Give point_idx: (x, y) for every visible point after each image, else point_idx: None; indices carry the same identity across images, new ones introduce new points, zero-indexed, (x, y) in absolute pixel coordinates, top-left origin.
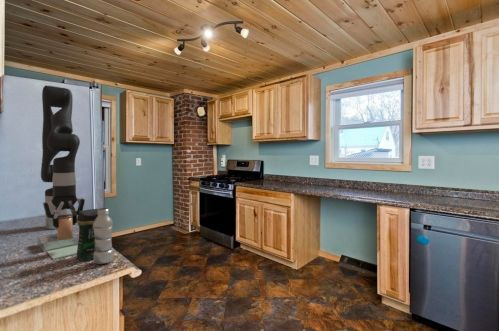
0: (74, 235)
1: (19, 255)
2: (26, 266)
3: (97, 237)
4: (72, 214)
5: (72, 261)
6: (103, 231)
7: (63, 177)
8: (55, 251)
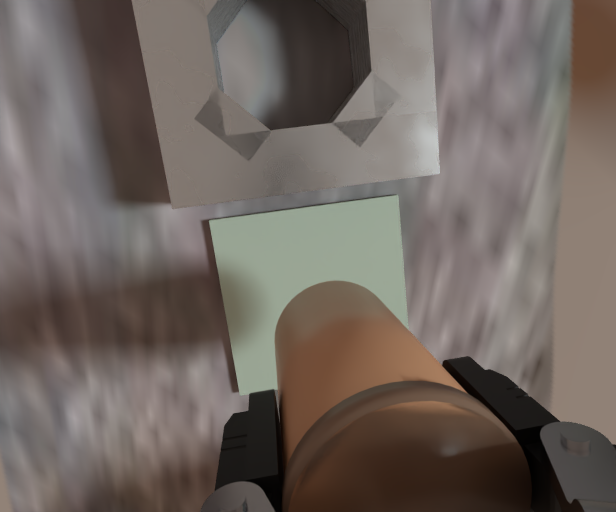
0: (425, 96)
1: (31, 167)
2: (103, 423)
3: None
4: (536, 461)
5: None
6: None
7: None
8: (259, 258)
